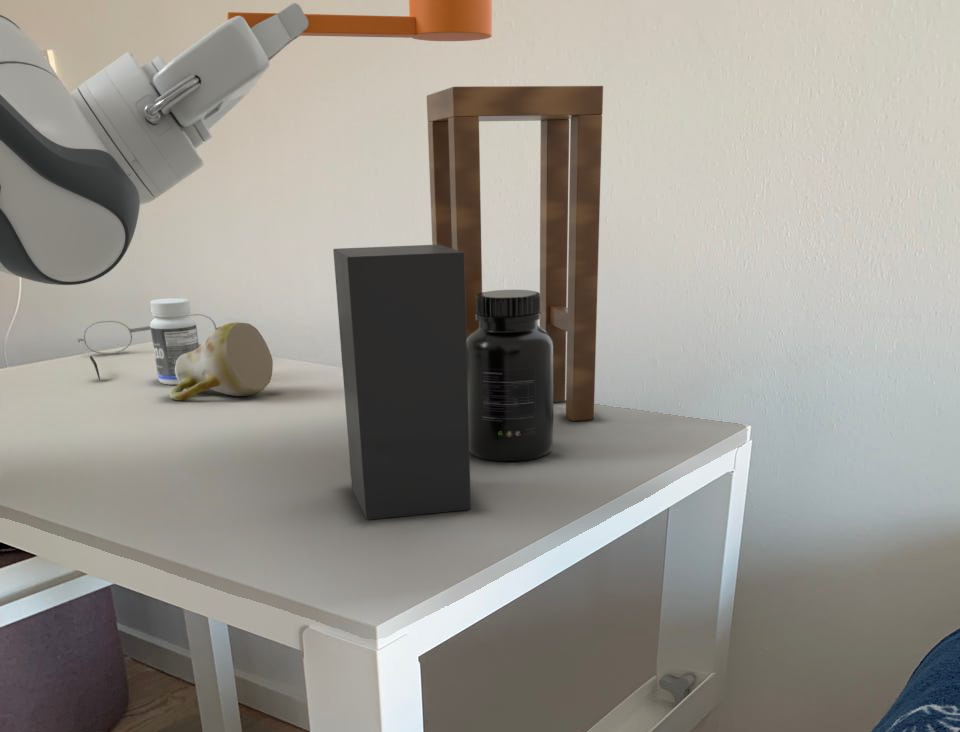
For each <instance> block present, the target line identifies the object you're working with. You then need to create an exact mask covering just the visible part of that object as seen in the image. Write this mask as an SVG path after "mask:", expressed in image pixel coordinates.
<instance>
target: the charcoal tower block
mask: <svg viewBox="0 0 960 732" xmlns="http://www.w3.org/2000/svg"><path fill="white" fill-rule="evenodd" d="M333 262H334V278H335V288H336V289H335V290H336V303H337V314H338V316H337V317H338V328H339V338H340V339H339V341H340V354H341V366H342V379H343V389H344V390H343V391H344V405H345V417H346V429H347V443H348V457H349V468H350V480H351V481H350V482H351V491H352V493H353V495H354V496H355V499H356V501H357V503H358V505H359V507H360V509H361V511H362V514H363V516H364V517H365V520H367V521H369V520H379V519H387V518H399V517H408V516H418V515H420V516H421V515H429V514H430V515H431V514H439V513H440V514H441V513H449V512H450V513H451V512H459V511H469V510H471V508H472V507H471V506H472V502H471V500H472V499H471V465H470V464H471V461H470V458H471V457H470V449H469V419H468V380H467V342H466V303H465V264H464V252H461V251H458V250H455V249H452V248H449V247H445V246H442V245H432V244H419V245H417V244H416V245H415V244H414V245H393V246H392V245H391V246H368V247H366V246H365V247H344V248H333Z"/></svg>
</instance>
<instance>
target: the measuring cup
mask: <svg viewBox="0 0 960 732" xmlns="http://www.w3.org/2000/svg"><path fill="white" fill-rule="evenodd" d="M408 6H409V7H408V10H409V11H408V12H409V14H408V15H409V16H408V15H407V16H406V15H405V16H401V15H398V16H397V15H367V14H366V15H361V14H359V15H358V14H326V13H325V14H321V13H320V14H319V13H304V14H305V16H306V18H307V19H308V27H307V29H306V30H305V31H303V32H302V33H300V34H299V35H297V36H300V37H346V38H347V37H351V38H354V37H356V38H402V39H403V38H404V39H407V38H408V39H410V38H411V39H413V40H419V41H428V42H429V41H430V42H471V41H480V40H481V41H482V40H487V39H490V38H491V37H492V36H493V9H492V8H493V0H408ZM278 13H279V12H277V13H276V12H242V11H241V12H239V11H238V12H236V11H228V12H227V15H226V21H227V20H229V19H231V18H233V17H236V16H241V17H243V18H244V19H245V21H246V22H247V24H248V26H249V27H250V28H252V27H253V26H255V25H256V24H258V23H260V22H262V21H264V20H266V19H268V18H270V17H272V16H274V15H276V14H278Z"/></svg>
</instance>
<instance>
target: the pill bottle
mask: <svg viewBox="0 0 960 732" xmlns="http://www.w3.org/2000/svg"><path fill="white" fill-rule="evenodd" d="M190 303H191V302H190V299H187V298H180V297H178V298H177V297H175V298H174V297H173V298H172V297H170V298H158V299H152V300H150V303H149V304H150V312H151V316H153V317H154V318H153V319H152V320H151V322H150V324H149V326H150V328H151V330H150V334H151V340H152V346H153V352H154V353H153V354H154V360H155V365H156V372H157V378H158V381H159V382H160V383H161V384H163V385H175V386H176V385H178V384H180V382H179V381H178V379H177V377H176V374H175V365H176V361H177V359H178V358H179V357H180V356H181V355H183V354H185V353H188V352H191V351H194V350H196V349H197V348H198V347H199V345H200V343H199V336H198V328H197V327H198V326H197V323H196V320H195V319H194V318H192V317H191V316H189V315H190V314H192V312H191V309H192V308H191V304H190Z"/></svg>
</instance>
